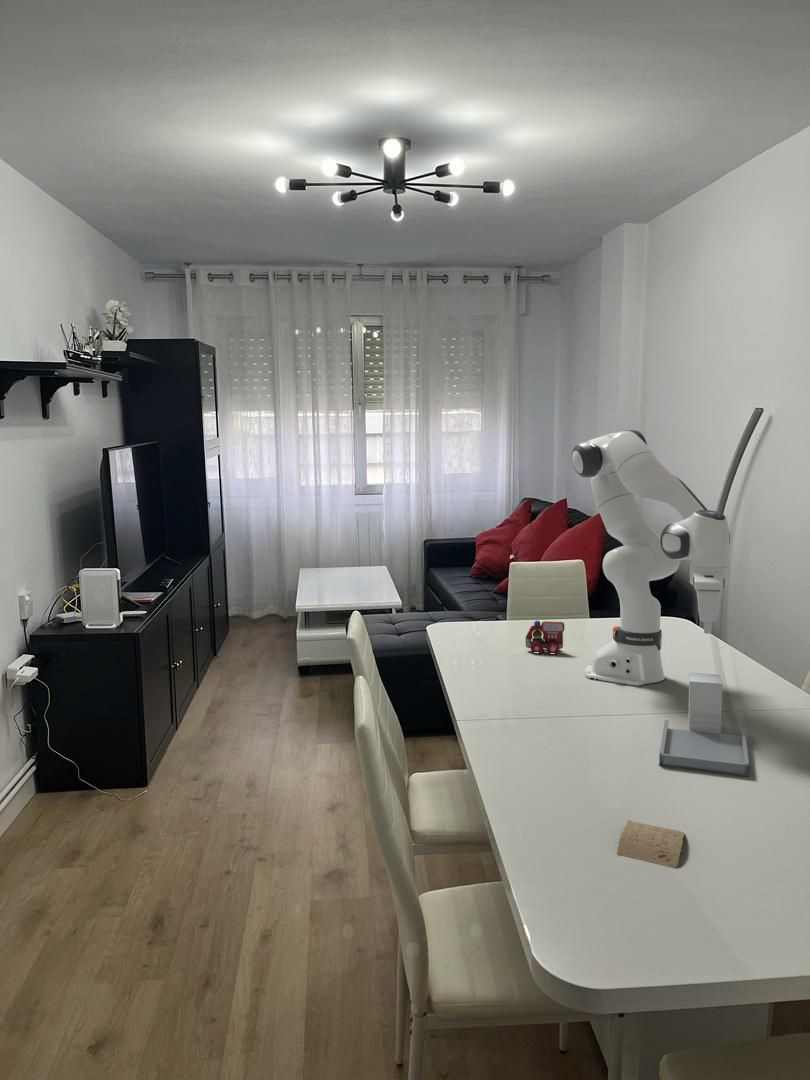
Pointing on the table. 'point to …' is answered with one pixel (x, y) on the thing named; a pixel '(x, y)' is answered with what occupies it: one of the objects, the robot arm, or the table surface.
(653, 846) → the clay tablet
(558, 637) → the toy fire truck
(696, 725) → the supplement box
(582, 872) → the table surface
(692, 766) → the tray
